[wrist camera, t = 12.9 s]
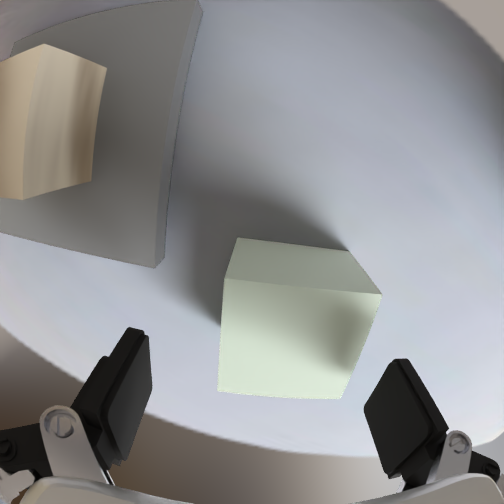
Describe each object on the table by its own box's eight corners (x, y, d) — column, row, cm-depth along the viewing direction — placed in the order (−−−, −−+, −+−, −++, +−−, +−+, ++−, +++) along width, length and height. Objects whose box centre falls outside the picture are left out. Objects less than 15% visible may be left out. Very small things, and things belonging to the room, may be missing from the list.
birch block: (107, 68, 10) (44, 43, 5) (91, 181, 12) (23, 200, 7) (33, 83, 10) (-26, 76, 5) (22, 177, 12) (-38, 193, 7)
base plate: (203, 11, 10) (197, -1, 9) (164, 257, 15) (154, 268, 13) (27, 46, 10) (14, 42, 9) (8, 225, 15) (-5, 231, 13)
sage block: (348, 250, 14) (382, 294, 10) (324, 339, 16) (340, 398, 12) (237, 236, 14) (224, 277, 10) (229, 330, 17) (217, 391, 12)
